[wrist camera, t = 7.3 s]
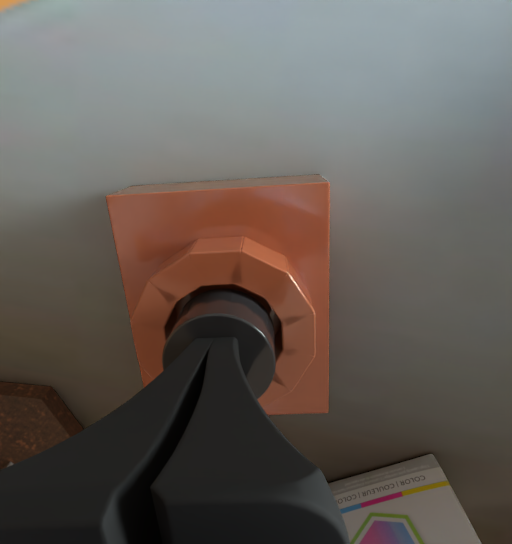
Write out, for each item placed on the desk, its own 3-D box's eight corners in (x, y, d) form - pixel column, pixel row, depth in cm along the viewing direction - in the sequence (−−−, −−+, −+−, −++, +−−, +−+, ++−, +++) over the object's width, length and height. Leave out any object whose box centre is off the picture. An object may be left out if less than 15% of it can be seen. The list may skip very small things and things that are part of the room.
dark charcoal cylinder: (276, 372, 14) (278, 410, 12) (182, 376, 14) (170, 413, 13) (271, 284, 13) (273, 311, 11) (169, 290, 13) (152, 317, 11)
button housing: (320, 376, 19) (336, 445, 15) (164, 382, 19) (137, 451, 15) (319, 173, 16) (339, 189, 11) (130, 185, 16) (81, 205, 12)
